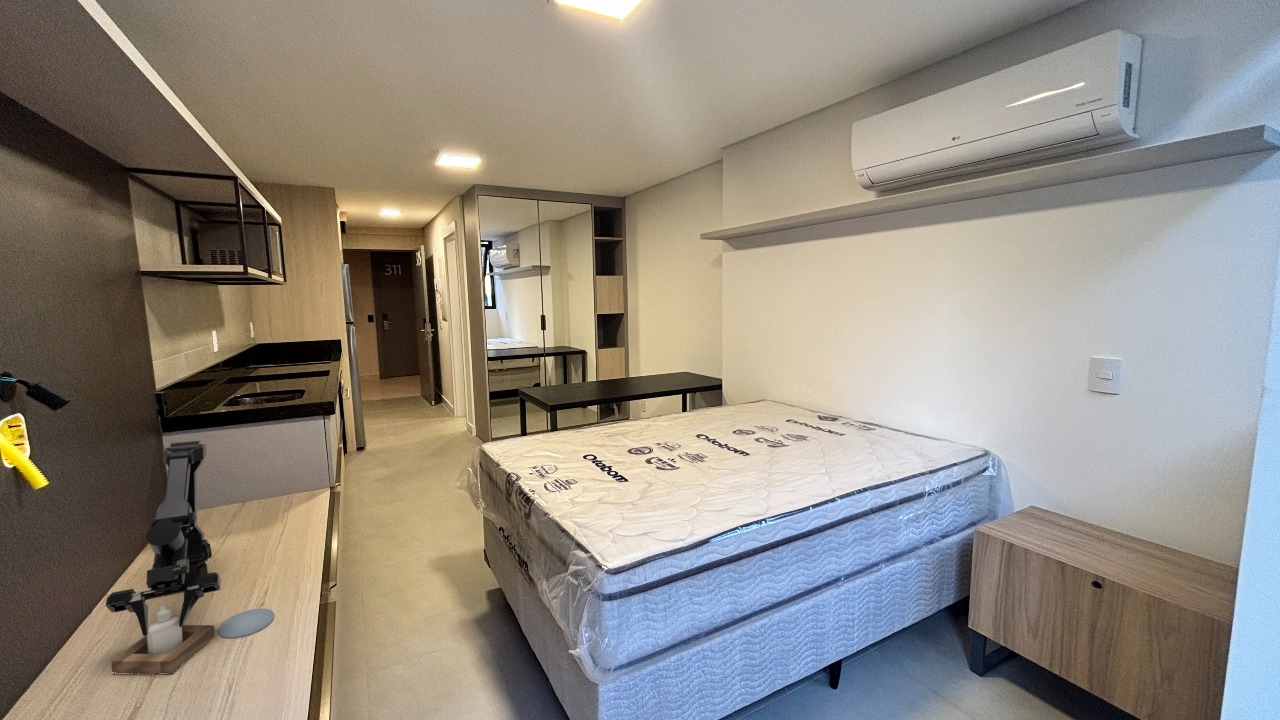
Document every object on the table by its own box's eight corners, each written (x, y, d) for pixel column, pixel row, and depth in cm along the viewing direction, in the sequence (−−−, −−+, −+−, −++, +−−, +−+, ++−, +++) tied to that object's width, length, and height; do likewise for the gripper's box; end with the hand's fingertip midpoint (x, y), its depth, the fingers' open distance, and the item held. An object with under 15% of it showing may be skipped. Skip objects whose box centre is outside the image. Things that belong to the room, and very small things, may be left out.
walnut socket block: (112, 674, 108) (111, 661, 108) (161, 636, 120) (160, 625, 120) (172, 674, 109) (171, 661, 109) (214, 636, 121) (214, 625, 121)
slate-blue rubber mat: (206, 638, 121) (206, 636, 121) (239, 609, 131) (239, 608, 131) (255, 638, 121) (255, 636, 121) (284, 610, 132) (284, 608, 132)
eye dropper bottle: (181, 656, 115) (178, 606, 113) (147, 665, 111) (143, 614, 110) (184, 644, 118) (181, 596, 117) (151, 653, 115) (147, 603, 114)
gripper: (104, 559, 110) (92, 635, 102) (216, 539, 120) (212, 608, 113) (118, 575, 117) (107, 648, 110) (222, 556, 128) (219, 621, 120)
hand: (162, 631), depth 113 cm, fingers closed on eye dropper bottle, 5 cm apart
